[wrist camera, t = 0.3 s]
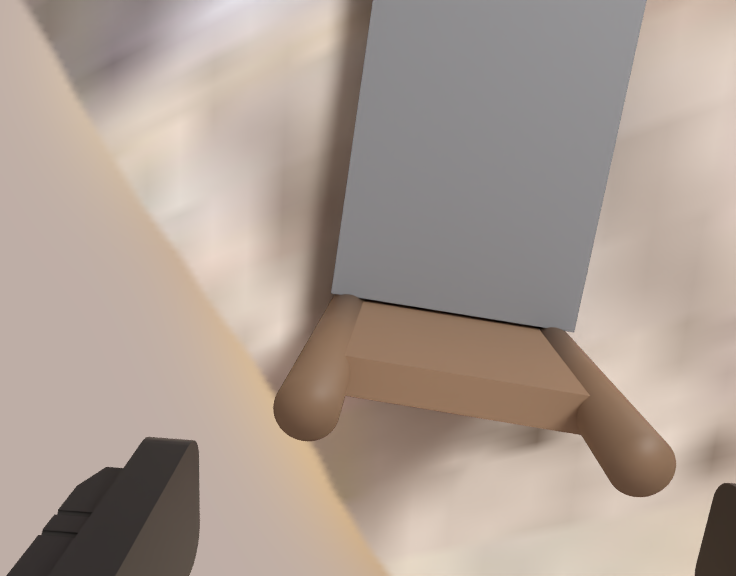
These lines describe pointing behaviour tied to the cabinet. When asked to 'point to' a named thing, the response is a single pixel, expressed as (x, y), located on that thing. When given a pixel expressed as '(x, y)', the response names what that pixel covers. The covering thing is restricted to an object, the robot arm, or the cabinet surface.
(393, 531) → the cabinet surface
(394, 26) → the bed base
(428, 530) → the cabinet surface
